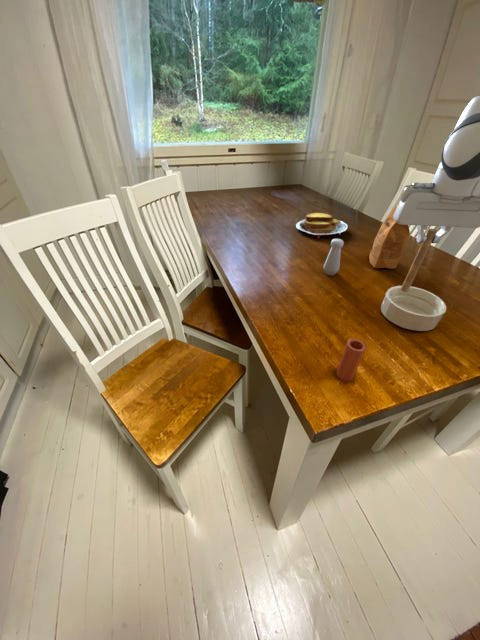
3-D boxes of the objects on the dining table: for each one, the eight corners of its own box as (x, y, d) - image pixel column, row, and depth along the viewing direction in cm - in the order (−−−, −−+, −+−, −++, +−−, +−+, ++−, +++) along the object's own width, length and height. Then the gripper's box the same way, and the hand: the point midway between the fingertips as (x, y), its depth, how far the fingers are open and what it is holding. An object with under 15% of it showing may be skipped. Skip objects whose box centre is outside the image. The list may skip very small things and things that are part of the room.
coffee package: (391, 257, 114) (412, 202, 100) (397, 272, 105) (422, 213, 91) (366, 255, 116) (383, 201, 102) (370, 269, 106) (390, 211, 92)
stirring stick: (408, 289, 80) (437, 229, 69) (407, 293, 79) (436, 232, 67) (401, 287, 81) (428, 227, 69) (400, 290, 79) (427, 230, 68)
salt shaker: (339, 276, 101) (348, 243, 93) (324, 276, 101) (331, 243, 93) (335, 269, 106) (344, 236, 98) (320, 268, 106) (328, 236, 98)
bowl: (439, 312, 85) (448, 296, 81) (433, 340, 75) (443, 323, 71) (386, 296, 91) (392, 280, 88) (374, 319, 81) (380, 303, 78)
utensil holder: (355, 373, 65) (367, 343, 59) (350, 384, 63) (362, 353, 56) (339, 366, 67) (350, 336, 61) (334, 376, 64) (344, 346, 58)
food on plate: (325, 244, 124) (328, 230, 120) (285, 228, 139) (286, 215, 135) (356, 231, 137) (359, 217, 133) (316, 218, 152) (318, 206, 148)
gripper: (412, 185, 60) (389, 245, 69) (510, 188, 59) (474, 249, 67) (401, 179, 65) (381, 235, 73) (492, 182, 63) (461, 239, 72)
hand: (427, 242), depth 70 cm, fingers closed on stirring stick, 2 cm apart
